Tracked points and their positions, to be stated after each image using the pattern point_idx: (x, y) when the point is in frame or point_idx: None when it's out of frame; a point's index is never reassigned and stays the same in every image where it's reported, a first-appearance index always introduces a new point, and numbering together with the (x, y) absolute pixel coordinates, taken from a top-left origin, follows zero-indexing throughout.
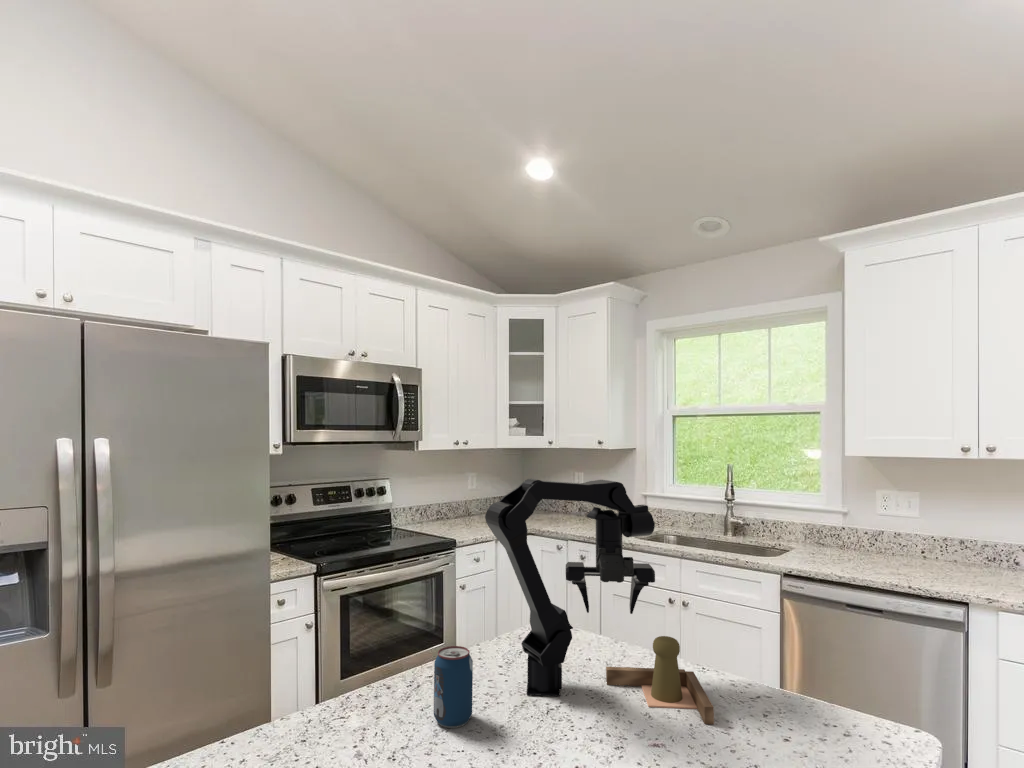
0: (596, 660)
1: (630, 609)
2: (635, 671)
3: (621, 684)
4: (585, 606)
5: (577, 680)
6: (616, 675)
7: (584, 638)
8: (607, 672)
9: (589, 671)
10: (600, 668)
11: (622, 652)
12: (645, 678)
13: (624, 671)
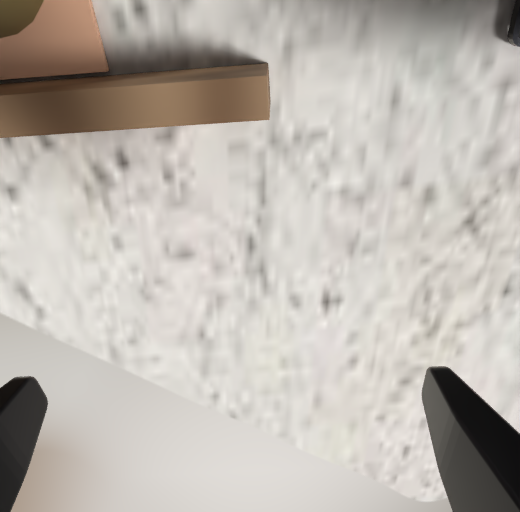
0: (301, 294)
1: (8, 408)
2: (114, 86)
3: (199, 68)
4: (497, 413)
5: (403, 95)
6: (217, 74)
7: (329, 430)
8: (263, 74)
9: (337, 198)
10: (290, 231)
11: (209, 358)
12: (78, 84)
13: (172, 80)
